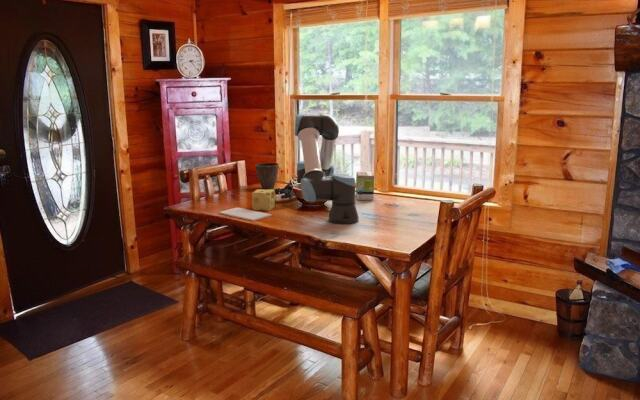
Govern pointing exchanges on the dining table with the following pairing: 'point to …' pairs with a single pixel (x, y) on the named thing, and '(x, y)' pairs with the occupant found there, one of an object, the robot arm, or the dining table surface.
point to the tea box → (365, 185)
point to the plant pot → (267, 174)
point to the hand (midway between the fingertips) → (267, 196)
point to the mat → (245, 214)
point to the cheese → (263, 199)
